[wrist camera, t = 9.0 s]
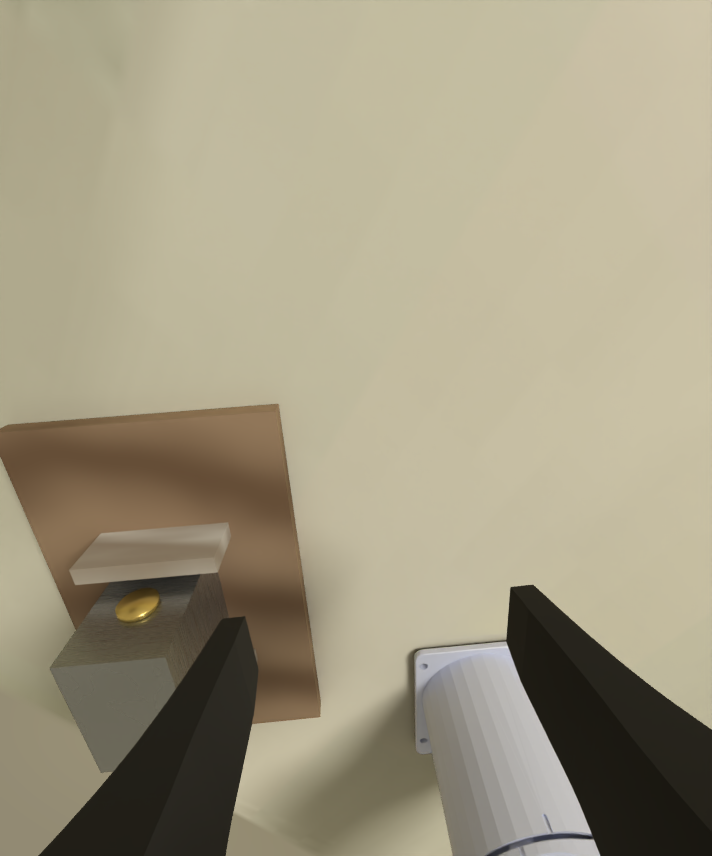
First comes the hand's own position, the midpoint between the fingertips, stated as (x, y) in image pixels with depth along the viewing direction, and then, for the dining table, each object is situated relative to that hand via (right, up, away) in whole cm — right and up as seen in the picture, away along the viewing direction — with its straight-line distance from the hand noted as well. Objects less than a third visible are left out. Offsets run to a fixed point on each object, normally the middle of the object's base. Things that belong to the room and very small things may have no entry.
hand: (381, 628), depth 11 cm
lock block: (-10, -3, +10) cm, 14 cm away
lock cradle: (-10, -3, +11) cm, 15 cm away
